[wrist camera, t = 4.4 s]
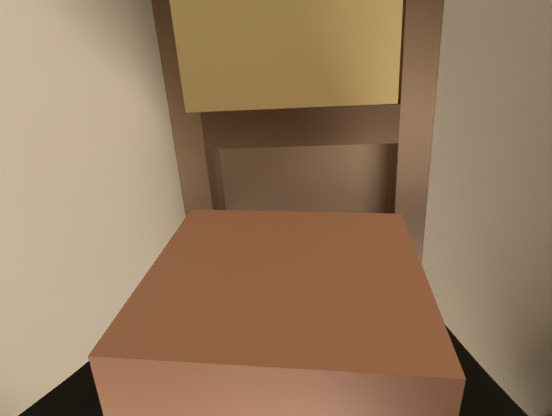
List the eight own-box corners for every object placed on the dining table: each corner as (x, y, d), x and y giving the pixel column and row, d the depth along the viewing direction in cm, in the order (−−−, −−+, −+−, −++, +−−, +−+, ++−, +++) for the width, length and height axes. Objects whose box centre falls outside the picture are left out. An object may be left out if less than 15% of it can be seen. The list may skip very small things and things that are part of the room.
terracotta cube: (401, 213, 10) (466, 378, 5) (384, 376, 12) (421, 598, 7) (191, 209, 10) (88, 356, 6) (209, 366, 12) (142, 566, 8)
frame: (395, 414, 21) (404, 463, 19) (234, 407, 22) (223, 453, 20) (435, -169, 12) (462, -214, 10) (160, -137, 13) (124, -172, 11)
